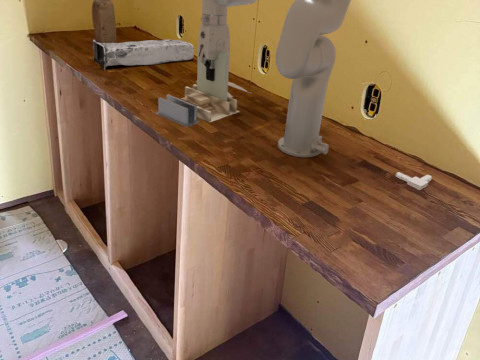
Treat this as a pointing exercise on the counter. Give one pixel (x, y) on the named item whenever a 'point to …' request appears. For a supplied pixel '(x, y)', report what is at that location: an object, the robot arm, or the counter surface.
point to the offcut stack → (198, 101)
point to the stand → (177, 111)
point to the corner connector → (415, 180)
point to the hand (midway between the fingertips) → (212, 79)
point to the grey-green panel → (215, 77)
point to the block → (104, 21)
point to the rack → (214, 106)
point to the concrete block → (142, 52)
